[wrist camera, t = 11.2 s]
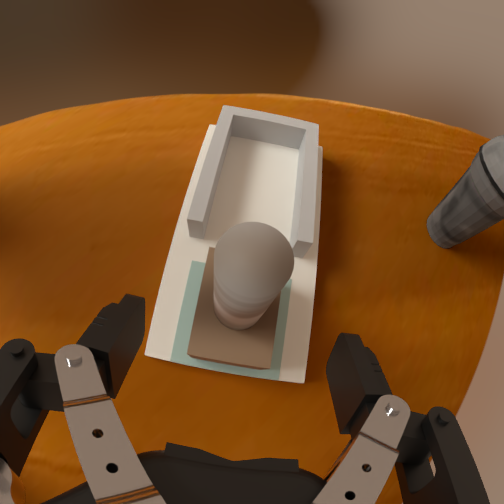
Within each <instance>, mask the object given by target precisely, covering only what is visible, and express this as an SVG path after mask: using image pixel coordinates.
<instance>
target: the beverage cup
mask: <svg viewBox="0 0 504 504" xmlns="http://www.w3.org/2000/svg"><path fill="white" fill-rule="evenodd" d="M502 219H504V135H501V136H498V137H495V138H493V139H491V140H490V141H489V142H487V143H485V144H484V145H482V146H481V147H480V149H479V152H478V153H477V154H476V156H475V158H474V159H473V161H472V163H471V166H470V167H469V168H468V170H467V171H466V172H465V173H464V175H463V176H462V177H461V178H460V179H459V181H458V182H457V183H456V184H455V186H454V187H453V188H452V189H451V190H450V192H449V193H448V194H447V195H446V196H445V197H444V199H443V200H442V201H441V202H440V203H439V204H438V205H437V207H436V208H435V209H434V211H433V212H432V214H431V215H430V216H429V217H428V219H427V229H428V232H429V234H430V237H431V238H432V239H433V241H434V242H435V243H436V244H437V245H438V246H440V247H442V248H450V247H452V246H454V245H456V244H459V243H461V242H463V241H465V240H467V239H469V238H471V237H472V236H474V235H476V234H478V233H480V232H481V231H483V230H485V229H487V228H489V227H490V226H492V225H494V224H496V223H497V222H499V221H501V220H502Z"/></svg>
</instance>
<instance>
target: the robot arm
mask: <svg viewBox="0 0 504 504" xmlns="http://www.w3.org/2000/svg"><path fill="white" fill-rule="evenodd" d="M144 332H145V299H144V298H143V297H139V296H134V295H130V294H126V295H125V296H124V297H123V299H122V300H121V301H120V303H119V304H116V303H111V304H109V305H107V306H106V307H104V308H103V309H102V310H101V311H100V312H99V314H98V315H97V317H96V318H95V319H94V320H93V322H92V323H91V324H90V326H89V327H88V328H87V330H86V331H85V332H84V334H83V335H82V336H81V338H80V339H79V340H78V342H77V343H76V344H72V345H67V346H64V347H62V348H60V349H59V350H58V351H57V353H56V354H46V353H36V352H35V349H34V346H33V344H32V343H31V342H29V341H28V340H25V339H13V340H10V341H8V342H7V343H5V344H4V345H3V346H2V348H1V349H0V504H24V500H25V487H24V484H23V482H22V481H21V479H20V478H19V476H20V473H21V471H22V469H23V466H24V464H25V462H26V459H27V457H28V455H29V452H30V450H31V448H32V446H33V444H34V441H35V439H36V437H37V435H38V433H39V431H40V429H41V427H42V425H43V422H44V420H45V418H46V416H47V414H48V412H49V410H53V411H62V412H65V415H66V419H67V423H68V426H69V430H70V433H71V436H72V440H73V443H74V446H75V449H76V452H77V455H78V458H79V461H80V463H81V466H82V469H83V471H84V474H85V477H86V479H87V481H86V482H84V483H82V484H80V485H79V486H77V487H75V488H73V489H71V490H69V491H67V492H65V493H62V494H60V495H58V496H56V497H54V498H52V499H50V500H48V501H45V502H43V503H41V504H375V502H376V500H377V498H378V496H379V494H380V493H381V491H382V489H383V487H384V485H385V483H386V481H387V479H388V477H389V475H390V472H391V470H392V468H393V466H394V464H395V468H396V472H397V476H398V481H399V485H400V490H401V494H402V499H403V504H490V502H489V499H488V496H487V493H486V491H485V488H484V485H483V482H482V480H481V477H480V474H479V472H478V469H477V467H476V464H475V461H474V459H473V457H472V454H471V452H470V450H469V447H468V445H467V443H466V440H465V438H464V435H463V433H462V431H461V429H460V426H459V424H458V422H457V420H456V418H455V416H454V415H453V414H452V412H450V411H449V410H448V409H446V408H443V407H433V408H432V409H431V410H430V411H429V412H428V414H427V415H424V414H420V413H415V412H411V411H410V408H409V406H408V404H407V403H406V402H405V401H404V400H403V399H401V398H399V397H397V396H394V395H392V392H391V390H390V388H389V385H388V383H387V381H386V378H385V376H384V374H383V373H382V369H381V367H380V366H379V362H378V360H377V358H376V356H375V354H374V353H373V352H372V351H371V350H370V349H369V348H368V347H364V345H363V343H362V341H361V338H360V336H359V335H357V334H348V333H340V334H339V336H338V338H337V341H336V343H335V345H334V348H333V350H332V352H331V355H330V357H329V359H328V362H327V366H326V375H327V379H328V383H329V387H330V392H331V396H332V400H333V405H334V409H335V414H336V418H337V422H338V427H339V432H340V434H351V440H350V441H349V442H348V444H347V445H346V447H345V448H344V450H343V451H342V453H341V454H340V456H339V457H338V458H337V460H336V461H335V463H334V464H333V466H332V467H331V468H330V470H329V471H328V472H327V474H326V475H325V476H324V478H323V479H322V478H321V477H319V476H317V475H315V474H313V473H311V472H309V471H306V470H303V469H300V468H299V466H298V460H297V459H277V458H261V459H252V460H243V461H230V460H227V459H225V458H222V457H219V456H216V455H214V454H211V453H208V452H206V451H203V450H201V449H197V448H192V447H187V446H182V445H177V444H172V443H168V442H167V444H166V448H165V450H158V451H149V452H143V453H140V454H137V455H136V453H135V451H134V449H133V447H132V445H131V443H130V440H129V438H128V436H127V434H126V432H125V430H124V428H123V425H122V423H121V421H120V419H119V416H118V414H117V412H116V409H115V407H114V405H113V402H112V400H111V398H113V399H115V398H116V396H117V394H118V391H119V389H120V387H121V385H122V383H123V381H124V379H125V376H126V374H127V372H128V370H129V368H130V366H131V364H132V362H133V360H134V358H135V356H136V354H137V352H138V349H139V347H140V345H141V343H142V341H143V337H144ZM431 455H432V458H433V461H434V464H435V468H436V473H435V476H433V472H432V469H431V466H430V463H429V460H428V458H429V457H430V456H431Z"/></svg>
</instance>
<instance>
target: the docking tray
mask: <svg viewBox="0 0 504 504" xmlns="http://www.w3.org/2000/svg"><path fill="white" fill-rule="evenodd" d="M318 131H319V124H315V123H311V122H307V121H303V120H299V119H294V118H290V117H285V116H281V115H276V114H271V113H266V112H261V111H256V110H250V109H244V108H239V107H232V106H226V105H223V108H222V111H221V113H220V116H219V119H218V122H217V125H209V128H208V131H207V134H206V136H205V139H204V142H203V145H202V148H201V151H200V153H199V156H198V159H197V162H196V165H195V168H194V171H193V174H192V177H191V180H190V184H189V187H188V190H187V193H186V196H185V199H184V203H183V206H182V209H181V212H180V216H179V219H178V222H177V226H176V229H175V233H174V236H173V240H172V243H171V247H170V251H169V254H168V258H167V262H166V265H165V269H164V273H163V277H162V281H161V285H160V289H159V293H158V297H157V301H156V305H155V309H154V314H153V318H152V322H151V327H150V331H149V336H148V340H147V345H146V350H145V355H146V356H149V357H154V358H158V359H162V360H166V361H170V362H175V363H179V364H184V365H188V366H193V367H198V368H203V369H208V370H214V371H219V372H225V373H230V374H236V375H242V376H249V377H256V378H263V379H270V380H278V381H286V382H295V383H304V381H305V373H306V366H307V358H308V350H309V342H310V333H311V324H312V314H313V304H314V294H315V283H316V271H317V258H318V244H319V228H320V209H321V187H322V152H323V147H320V146H318ZM244 222H261V223H265V224H267V225H270V226H272V227H274V228H275V229H277V230H278V231H280V232H281V233H282V234H283V235H284V236H285V237H286V239H287V240H288V241H289V243H290V245H291V247H292V250H293V254H294V269H293V272H292V275H291V277H290V279H289V281H288V282H287V283H286V285H285V286H284V287H283V289H282V290H281V295H280V303H279V310H278V318H277V325H276V332H275V339H274V346H273V353H272V360H271V367H270V369H264V370H257V369H251V368H244V367H238V366H232V365H226V364H221V363H215V362H210V361H205V360H200V359H195V358H191V357H190V356H189V355H187V350H188V345H189V340H190V335H191V330H192V325H193V320H194V315H195V310H196V305H197V301H198V296H199V291H200V287H201V282H202V277H203V273H204V268H205V264H206V259H207V255H208V251H209V247H213V248H215V247H216V244H217V242H218V240H219V239H220V237H221V236H222V235H223V233H225V232H226V231H227V230H228V229H229V228H231V227H233V226H235V225H237V224H240V223H244Z"/></svg>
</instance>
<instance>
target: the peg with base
mask: <svg viewBox="0 0 504 504" xmlns="http://www.w3.org/2000/svg"><path fill="white" fill-rule="evenodd" d="M293 269H294V254H293V250H292V247H291V245H290V243H289V241H288V240H287V239H286V237H285V236H284V235H283V234H282V233H281V232H280V231H278V230H277V229H275V228H274V227H272V226H270V225H267V224H265V223H261V222H244V223H240V224H237V225H235V226H233V227H231V228H229V229H228V230H227V231H226V232H225V233H223V235H222V236H221V237H220V239H219V240H218V242H217V244H216V247H215V248H213V247H209V251H208V255H207V259H206V264H205V268H204V273H203V277H202V282H201V287H200V291H199V296H198V301H197V305H196V310H195V315H194V320H193V325H192V330H191V335H190V340H189V345H188V350H187V355H189V356H190V357H191V358H195V359H200V360H205V361H210V362H215V363H221V364H226V365H232V366H238V367H244V368H251V369H257V370H264V369H270V367H271V360H272V353H273V346H274V339H275V332H276V325H277V318H278V310H279V303H280V295H281V290H282V289H283V287H284V286H285V285H286V283H287V282H288V281H289V279H290V277H291V275H292V272H293Z"/></svg>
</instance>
